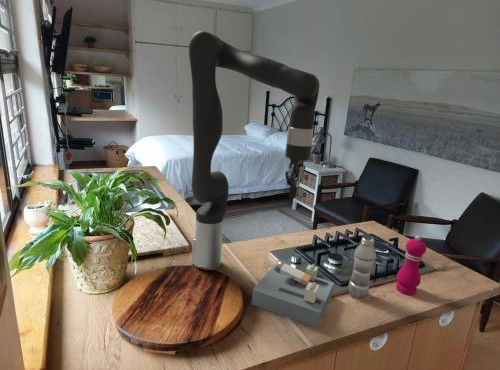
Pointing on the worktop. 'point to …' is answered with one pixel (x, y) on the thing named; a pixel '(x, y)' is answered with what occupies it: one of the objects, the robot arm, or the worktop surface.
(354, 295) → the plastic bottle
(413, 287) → the pepper mill
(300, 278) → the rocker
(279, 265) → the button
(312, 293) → the slider knob
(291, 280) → the console
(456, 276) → the worktop surface
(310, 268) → the green slider
